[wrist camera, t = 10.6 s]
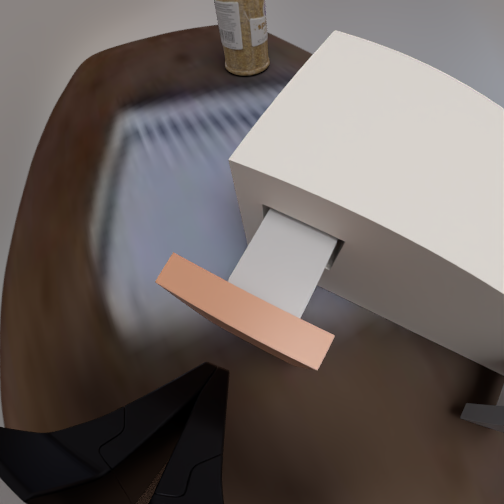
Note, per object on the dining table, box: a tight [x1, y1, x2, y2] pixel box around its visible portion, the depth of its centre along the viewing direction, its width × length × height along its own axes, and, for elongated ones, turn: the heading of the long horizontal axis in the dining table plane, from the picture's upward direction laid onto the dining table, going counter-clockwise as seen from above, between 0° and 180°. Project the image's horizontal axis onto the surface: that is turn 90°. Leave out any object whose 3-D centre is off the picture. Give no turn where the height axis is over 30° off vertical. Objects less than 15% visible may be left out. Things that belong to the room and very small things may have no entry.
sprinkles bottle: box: [214, 0, 270, 76], centre depth 20 cm, size 5×5×13 cm
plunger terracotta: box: [155, 208, 338, 370], centre depth 13 cm, size 14×5×8 cm, turn 151°
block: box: [229, 31, 504, 376], centre depth 13 cm, size 12×22×9 cm, turn 61°
